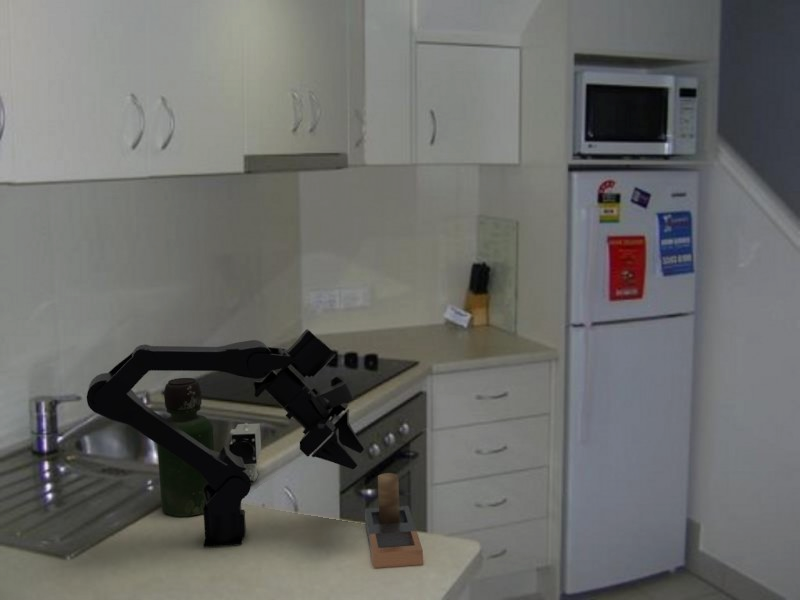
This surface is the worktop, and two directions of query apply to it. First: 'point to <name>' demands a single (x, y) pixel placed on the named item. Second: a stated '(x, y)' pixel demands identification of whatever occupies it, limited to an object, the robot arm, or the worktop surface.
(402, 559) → the grey copper flat frame
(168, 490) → the spray bottle
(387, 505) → the walnut peg
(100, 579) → the worktop surface
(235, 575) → the worktop surface
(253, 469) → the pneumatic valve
